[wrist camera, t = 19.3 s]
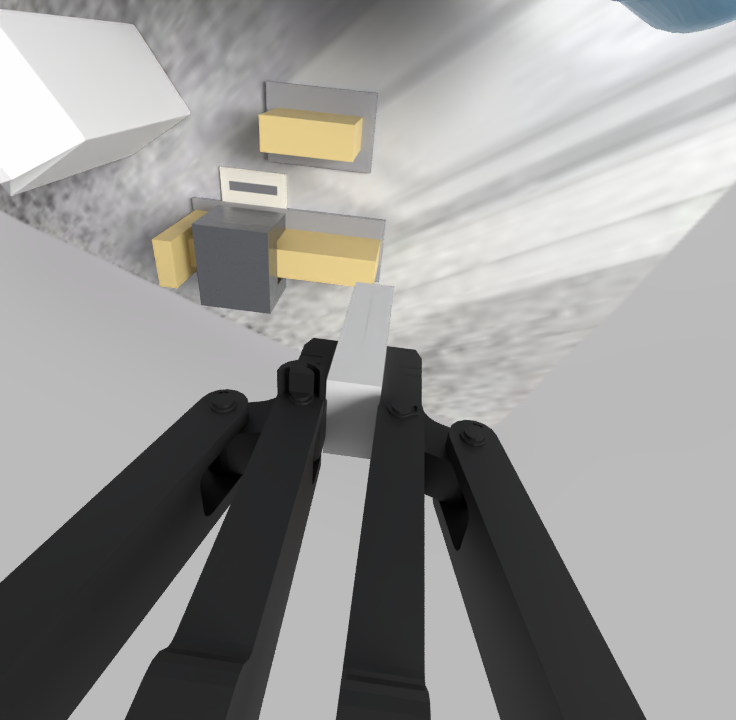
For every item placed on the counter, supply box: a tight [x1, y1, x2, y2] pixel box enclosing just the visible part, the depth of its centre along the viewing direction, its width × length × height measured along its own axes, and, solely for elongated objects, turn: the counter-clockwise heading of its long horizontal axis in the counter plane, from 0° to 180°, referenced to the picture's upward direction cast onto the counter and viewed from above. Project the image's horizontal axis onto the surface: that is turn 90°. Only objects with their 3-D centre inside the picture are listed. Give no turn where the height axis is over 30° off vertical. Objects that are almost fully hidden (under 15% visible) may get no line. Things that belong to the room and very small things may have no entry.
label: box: [220, 166, 287, 209], centre depth 42 cm, size 3×6×1 cm, turn 85°
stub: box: [259, 81, 378, 173], centre depth 37 cm, size 6×9×6 cm, turn 85°
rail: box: [152, 197, 386, 288], centre depth 41 cm, size 6×18×9 cm, turn 85°
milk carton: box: [0, 9, 190, 196], centre depth 31 cm, size 7×7×19 cm
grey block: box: [191, 205, 286, 314], centre depth 40 cm, size 7×6×6 cm
